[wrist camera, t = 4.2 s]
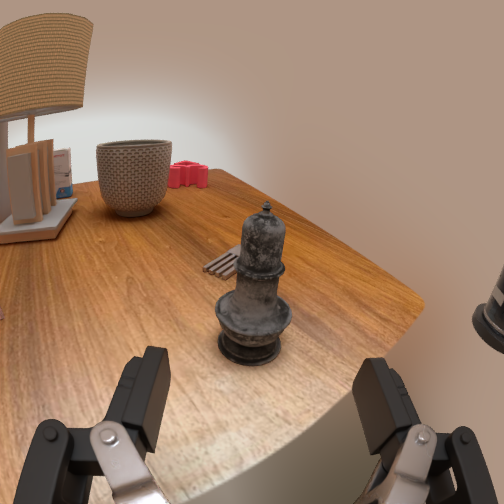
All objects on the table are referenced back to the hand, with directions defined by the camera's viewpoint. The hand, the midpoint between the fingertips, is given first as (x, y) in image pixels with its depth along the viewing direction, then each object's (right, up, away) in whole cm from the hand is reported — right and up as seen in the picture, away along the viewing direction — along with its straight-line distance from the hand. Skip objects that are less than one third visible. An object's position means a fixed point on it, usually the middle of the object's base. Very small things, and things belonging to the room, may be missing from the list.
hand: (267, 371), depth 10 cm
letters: (-18, +23, +64) cm, 71 cm away
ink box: (-48, +18, +46) cm, 69 cm away
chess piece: (-1, -3, +12) cm, 13 cm away
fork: (-1, +5, +29) cm, 29 cm away
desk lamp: (-39, +9, +29) cm, 50 cm away
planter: (-23, +12, +39) cm, 47 cm away
